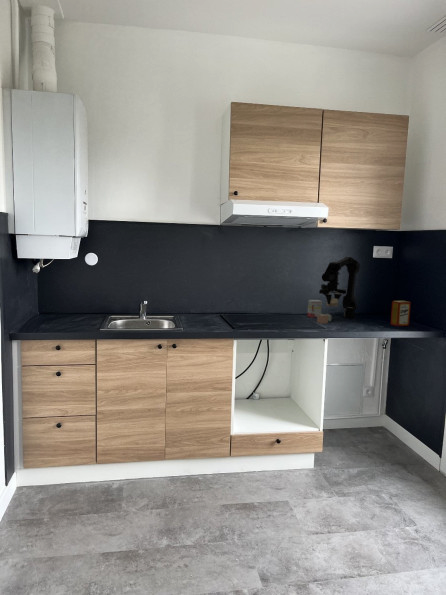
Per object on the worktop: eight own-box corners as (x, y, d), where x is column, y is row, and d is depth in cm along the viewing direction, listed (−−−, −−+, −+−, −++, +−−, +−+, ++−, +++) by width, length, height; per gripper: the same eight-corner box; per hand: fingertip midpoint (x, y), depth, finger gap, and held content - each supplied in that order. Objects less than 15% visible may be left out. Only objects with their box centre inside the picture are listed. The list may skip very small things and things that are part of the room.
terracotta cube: (323, 322, 300) (324, 314, 299) (327, 323, 295) (328, 315, 295) (316, 322, 298) (317, 314, 298) (320, 323, 294) (321, 316, 293)
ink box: (310, 317, 317) (310, 300, 316) (307, 316, 322) (308, 299, 320) (321, 317, 319) (322, 300, 318) (318, 316, 324) (319, 299, 322)
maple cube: (337, 306, 304) (337, 298, 303) (331, 306, 301) (331, 298, 301) (332, 305, 308) (332, 297, 307) (326, 305, 306) (327, 298, 305)
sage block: (329, 319, 311) (329, 314, 311) (331, 321, 304) (331, 315, 304) (318, 319, 312) (319, 313, 311) (320, 321, 305) (321, 315, 304)
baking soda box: (397, 326, 292) (399, 301, 290) (390, 324, 298) (392, 300, 297) (409, 325, 296) (410, 301, 294) (401, 323, 302) (403, 300, 300)
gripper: (336, 280, 314) (334, 302, 316) (314, 280, 306) (313, 303, 308) (347, 281, 304) (345, 304, 306) (325, 281, 296) (323, 305, 298)
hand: (332, 304), depth 305 cm, fingers closed on maple cube, 5 cm apart
